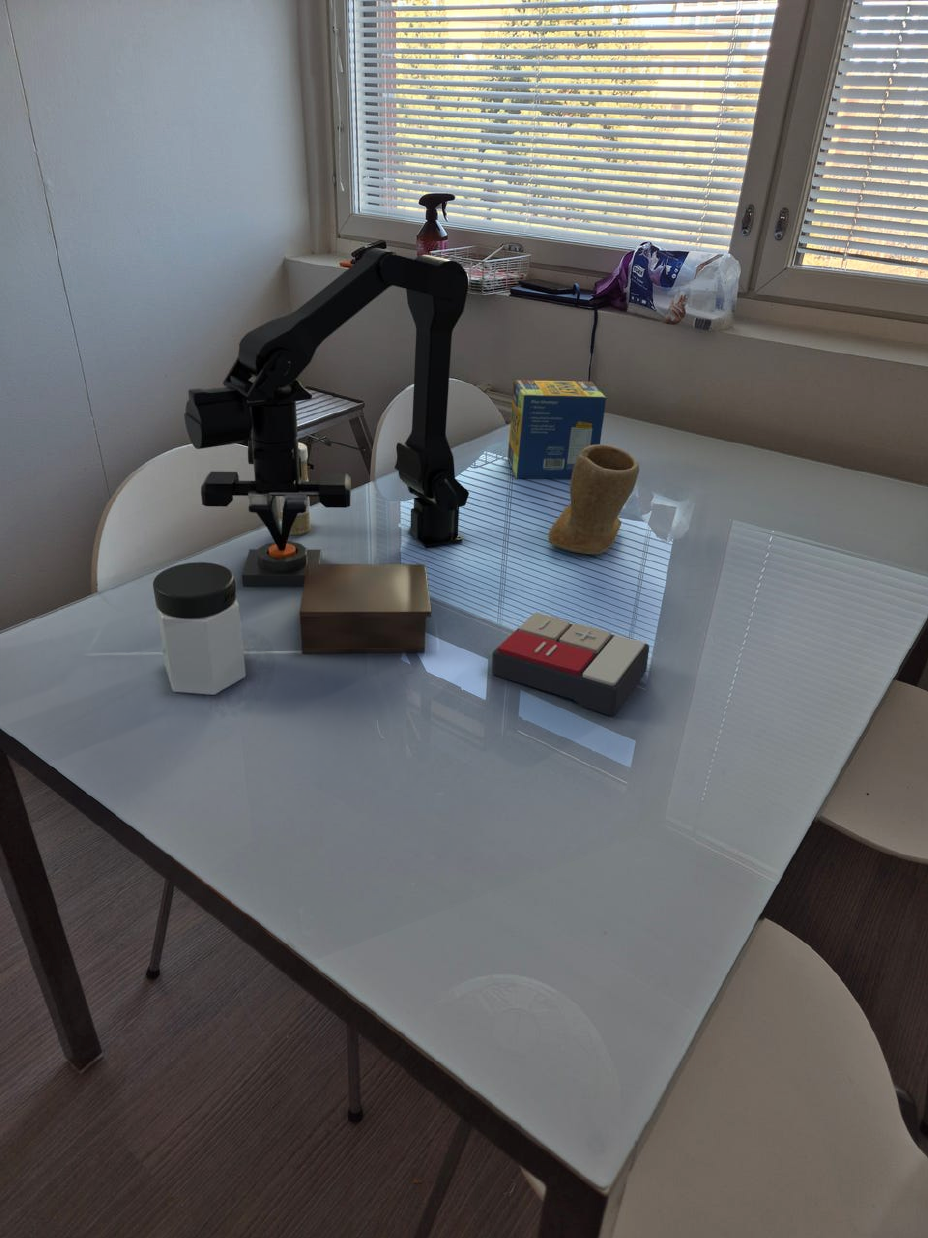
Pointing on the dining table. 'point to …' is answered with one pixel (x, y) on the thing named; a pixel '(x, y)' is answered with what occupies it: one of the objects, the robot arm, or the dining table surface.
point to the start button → (282, 551)
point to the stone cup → (595, 500)
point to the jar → (199, 627)
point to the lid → (365, 591)
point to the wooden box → (362, 634)
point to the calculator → (572, 662)
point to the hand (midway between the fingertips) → (282, 548)
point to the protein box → (553, 426)
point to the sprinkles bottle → (303, 519)
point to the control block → (278, 567)
